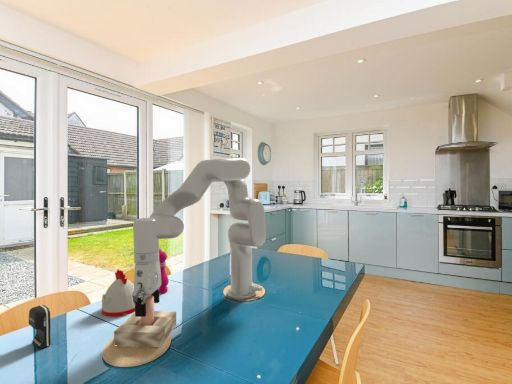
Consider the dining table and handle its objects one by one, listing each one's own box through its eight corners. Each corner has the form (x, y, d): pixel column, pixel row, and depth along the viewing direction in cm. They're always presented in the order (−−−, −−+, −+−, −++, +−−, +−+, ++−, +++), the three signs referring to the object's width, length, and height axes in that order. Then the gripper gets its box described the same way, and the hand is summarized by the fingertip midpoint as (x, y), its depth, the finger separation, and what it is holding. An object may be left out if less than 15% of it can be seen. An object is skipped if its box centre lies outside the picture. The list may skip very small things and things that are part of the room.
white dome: (130, 298, 120) (129, 263, 120) (147, 307, 112) (146, 269, 111) (95, 310, 110) (94, 271, 109) (111, 320, 101) (110, 279, 100)
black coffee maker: (27, 344, 86) (26, 307, 86) (42, 338, 89) (42, 302, 89) (36, 352, 82) (35, 313, 82) (51, 345, 85) (50, 308, 85)
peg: (156, 331, 93) (155, 295, 93) (150, 338, 89) (150, 300, 89) (144, 331, 93) (144, 295, 93) (138, 337, 89) (138, 300, 89)
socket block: (176, 324, 98) (176, 311, 98) (159, 347, 84) (159, 332, 84) (137, 323, 99) (137, 310, 99) (114, 346, 85) (114, 331, 85)
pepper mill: (163, 295, 124) (163, 250, 123) (148, 294, 125) (148, 249, 125) (171, 289, 131) (171, 246, 130) (157, 288, 132) (156, 245, 132)
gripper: (145, 264, 82) (147, 322, 82) (168, 250, 99) (169, 298, 100) (120, 264, 82) (122, 322, 83) (147, 250, 100) (148, 297, 100)
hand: (148, 309), depth 91 cm, fingers open, 9 cm apart
